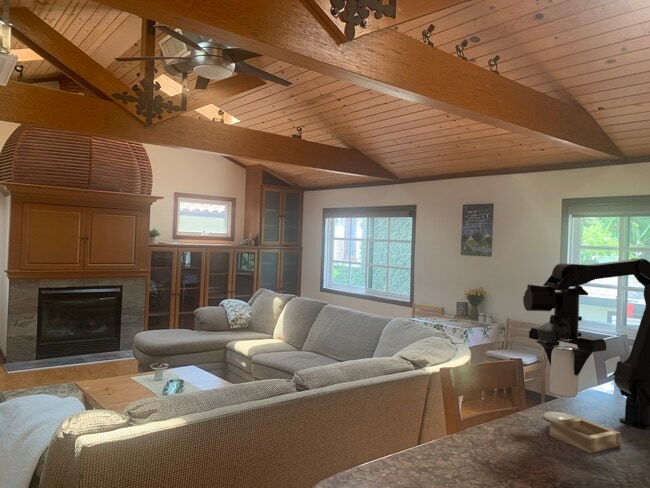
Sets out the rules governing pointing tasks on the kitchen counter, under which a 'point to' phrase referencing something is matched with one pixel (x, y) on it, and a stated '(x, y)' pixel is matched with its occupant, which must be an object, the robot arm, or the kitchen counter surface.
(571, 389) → the can
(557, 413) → the coaster
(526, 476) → the kitchen counter surface
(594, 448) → the socket block
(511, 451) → the kitchen counter surface
